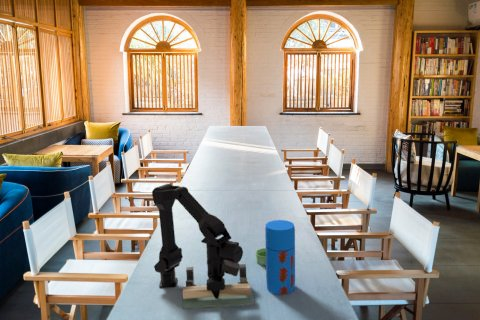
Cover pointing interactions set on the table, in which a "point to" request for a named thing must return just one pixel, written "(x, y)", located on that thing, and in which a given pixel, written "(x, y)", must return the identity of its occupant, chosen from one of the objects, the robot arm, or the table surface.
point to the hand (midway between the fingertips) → (216, 296)
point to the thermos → (280, 256)
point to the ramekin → (261, 256)
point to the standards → (191, 283)
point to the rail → (228, 291)
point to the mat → (218, 301)
